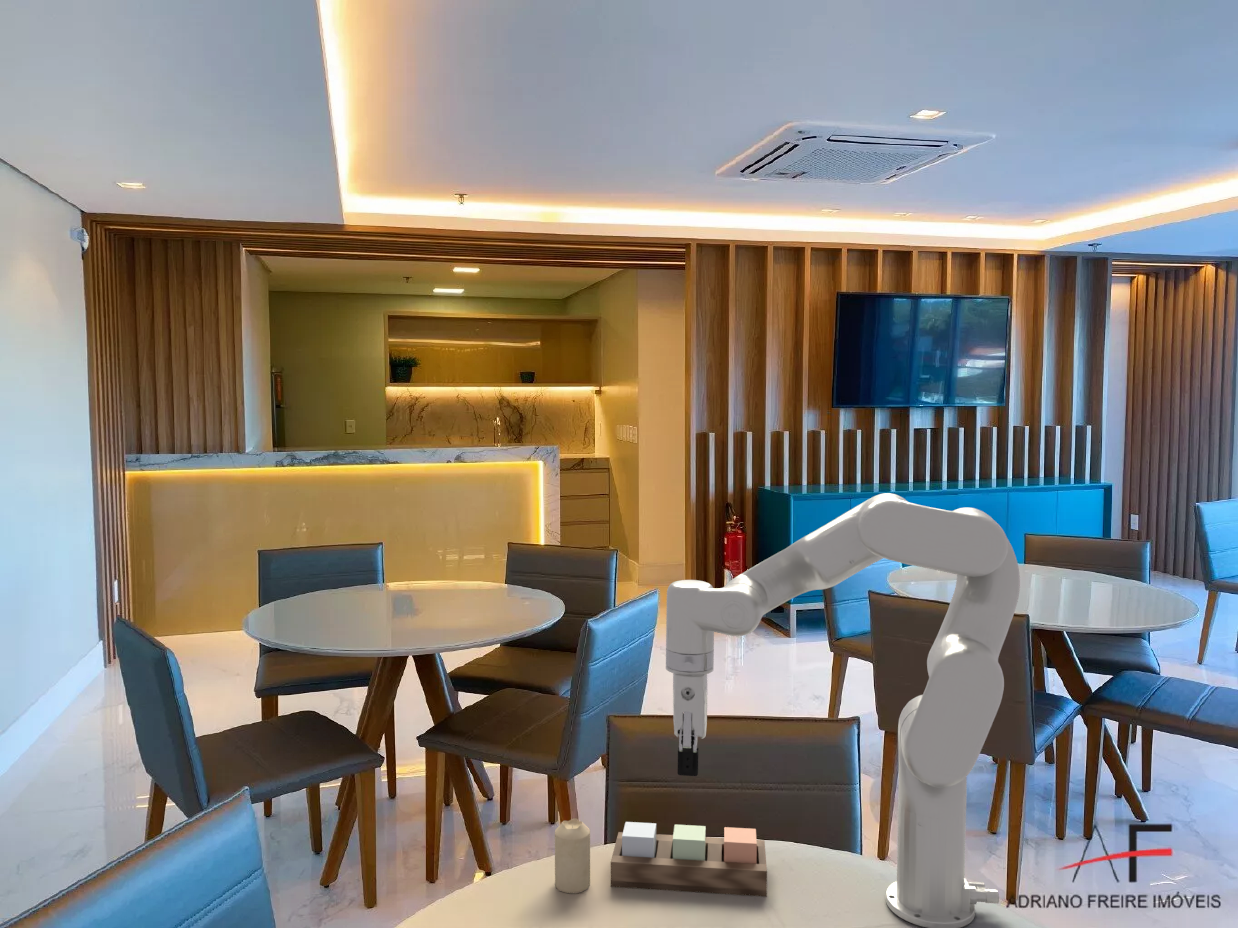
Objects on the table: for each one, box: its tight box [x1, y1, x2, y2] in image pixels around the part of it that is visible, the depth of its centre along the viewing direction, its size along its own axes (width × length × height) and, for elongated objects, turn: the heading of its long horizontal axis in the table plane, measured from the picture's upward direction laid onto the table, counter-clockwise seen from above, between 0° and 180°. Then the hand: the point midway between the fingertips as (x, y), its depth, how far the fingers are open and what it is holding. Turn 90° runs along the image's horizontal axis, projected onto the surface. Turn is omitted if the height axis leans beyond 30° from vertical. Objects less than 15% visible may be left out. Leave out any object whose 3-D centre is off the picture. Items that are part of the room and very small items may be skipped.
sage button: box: [672, 824, 707, 861], centre depth 143 cm, size 5×5×4 cm
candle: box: [554, 817, 591, 894], centre depth 140 cm, size 6×6×10 cm
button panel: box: [610, 831, 768, 898], centre depth 143 cm, size 24×10×4 cm, turn 83°
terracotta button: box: [723, 826, 757, 864], centre depth 142 cm, size 5×5×4 cm
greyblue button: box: [622, 821, 657, 858], centre depth 144 cm, size 5×5×4 cm
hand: (687, 773), depth 143 cm, fingers closed
